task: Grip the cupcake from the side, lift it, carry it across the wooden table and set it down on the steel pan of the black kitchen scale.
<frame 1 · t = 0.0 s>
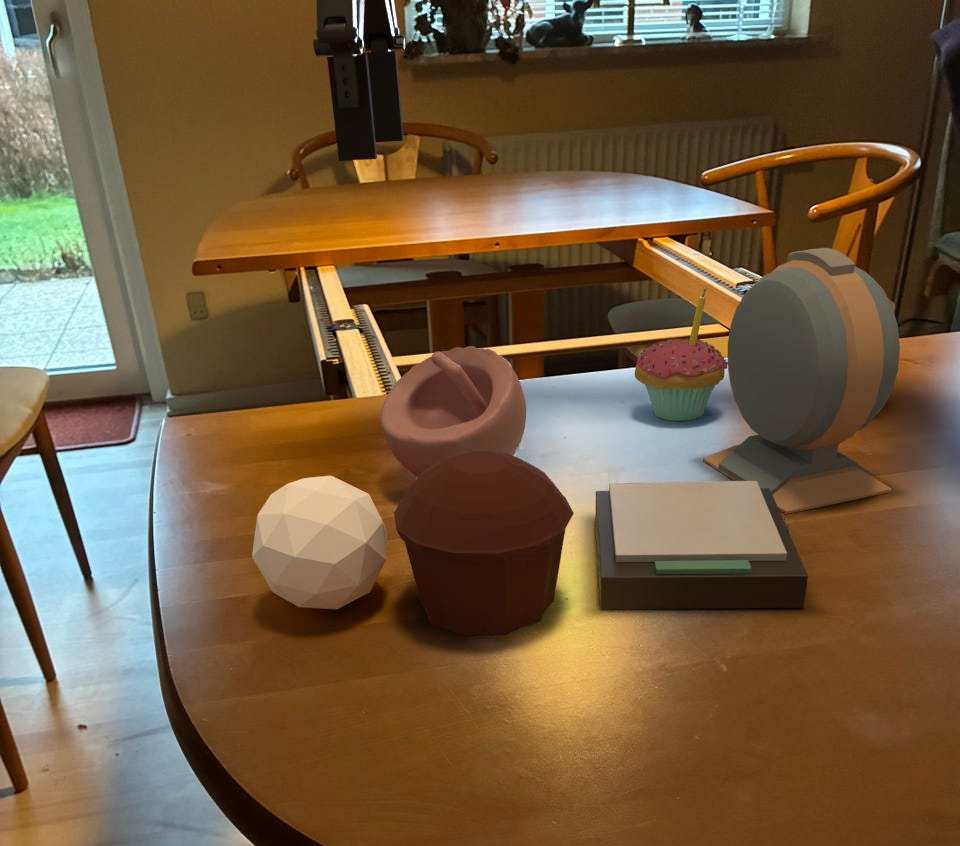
hand: (373, 150, 77), 25 cm above the table, tool pointing down, fingers open, 13 cm apart
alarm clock: (792, 477, 81), on the table
muffin: (487, 605, 66), on the table
planter: (819, 405, 96), on the table
white geodesic ball: (333, 591, 69), on the table
cupcake: (677, 415, 96), on the table
mortar and pestle: (458, 483, 84), on the table
scale: (689, 559, 70), on the table
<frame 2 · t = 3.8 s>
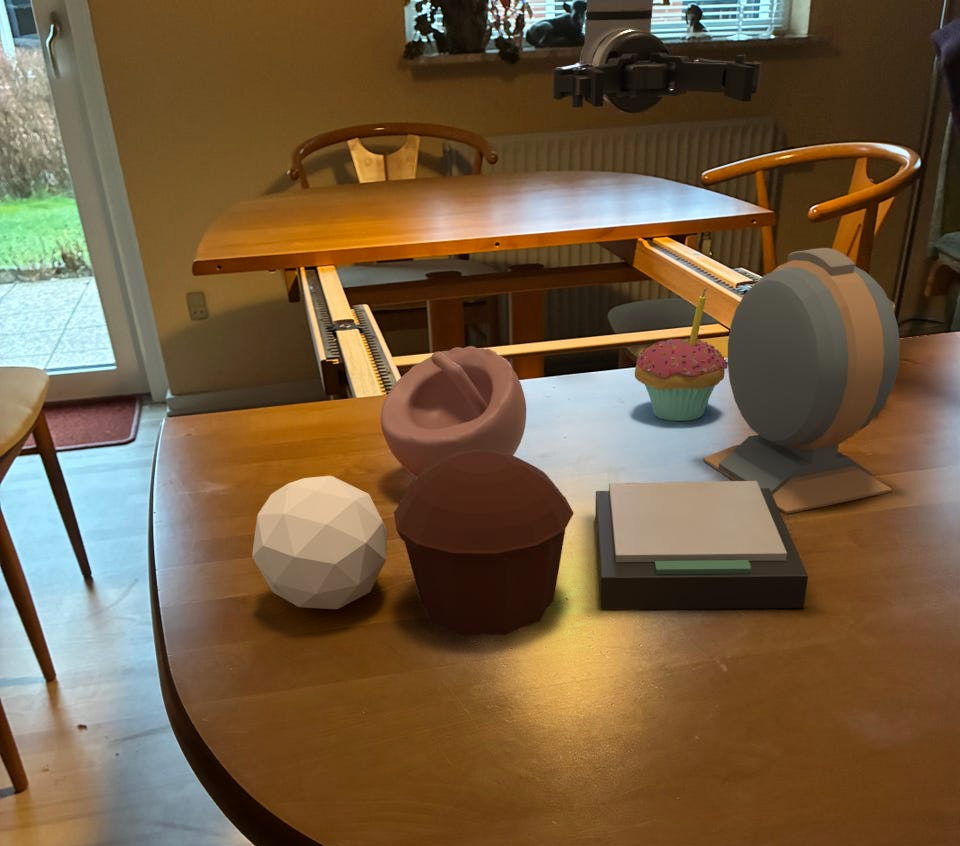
hand: (674, 87, 89), 28 cm above the table, tool horizontal, fingers open, 13 cm apart
nothing on the table moved.
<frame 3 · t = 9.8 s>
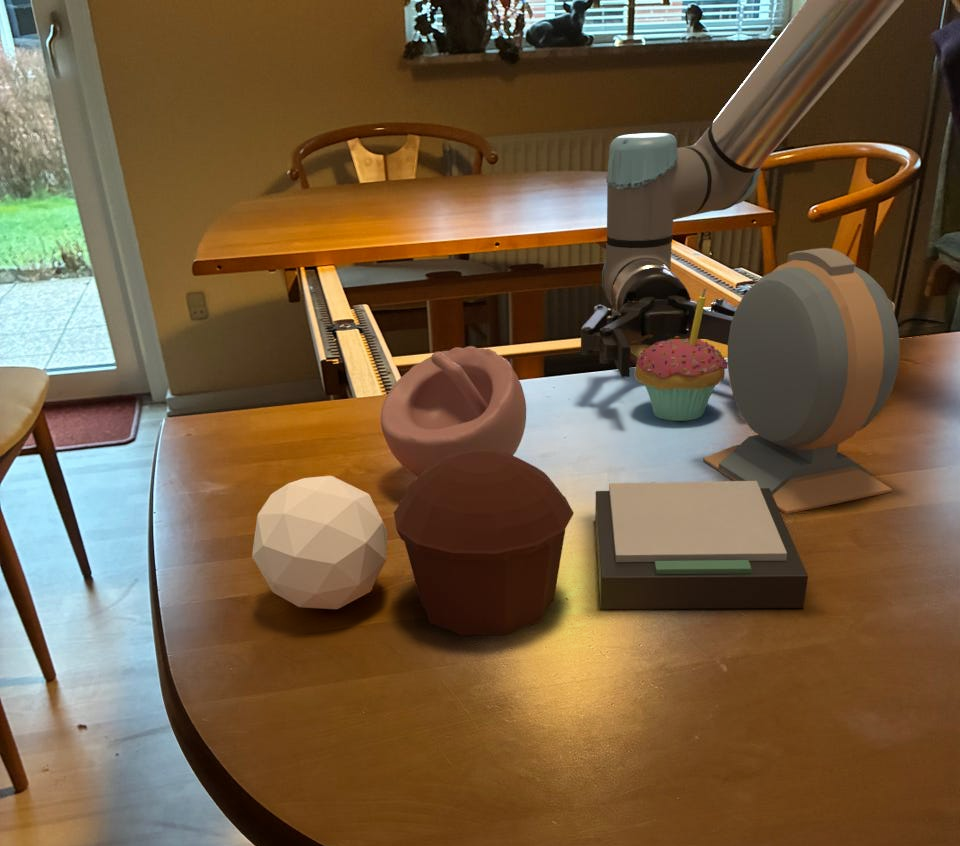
hand: (689, 359, 89), 6 cm above the table, tool horizontal, fingers open, 11 cm apart
nothing on the table moved.
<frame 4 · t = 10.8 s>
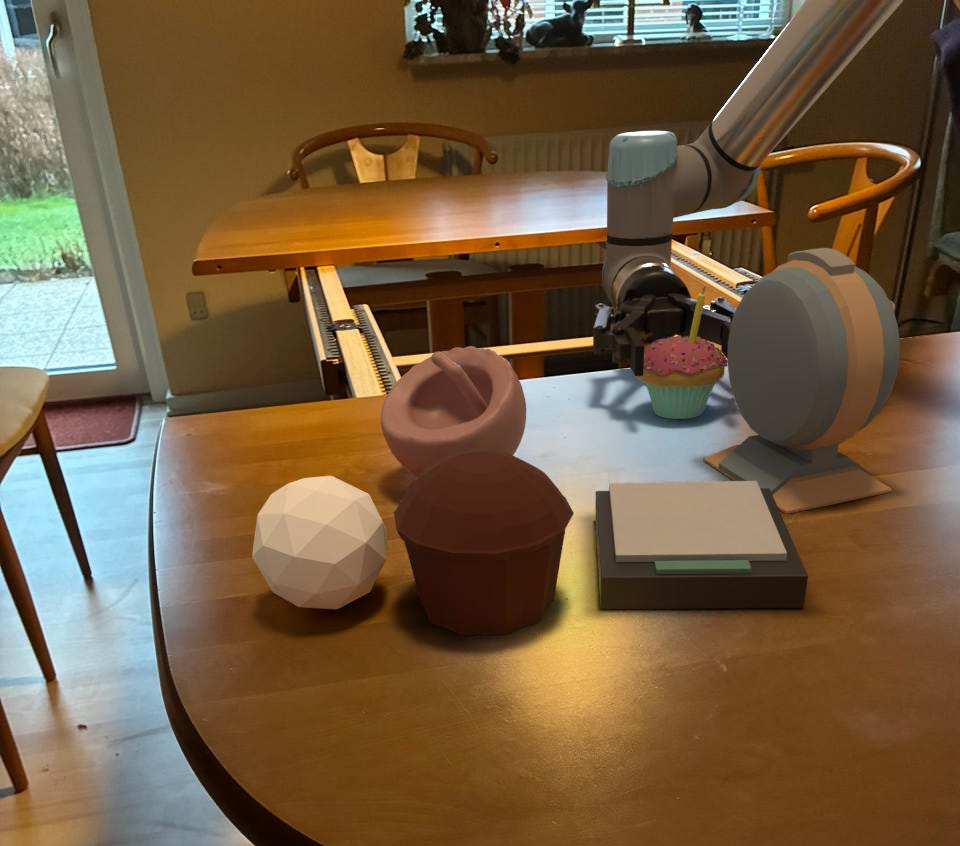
hand: (690, 358, 88), 7 cm above the table, tool horizontal, fingers closed on cupcake, 8 cm apart
cupcake: (677, 413, 96), on the table, touching gripper
everything else where it was.
when the fingers open (9 cm above the table, at t = 22.7 s): cupcake stays where it is, resting on scale.
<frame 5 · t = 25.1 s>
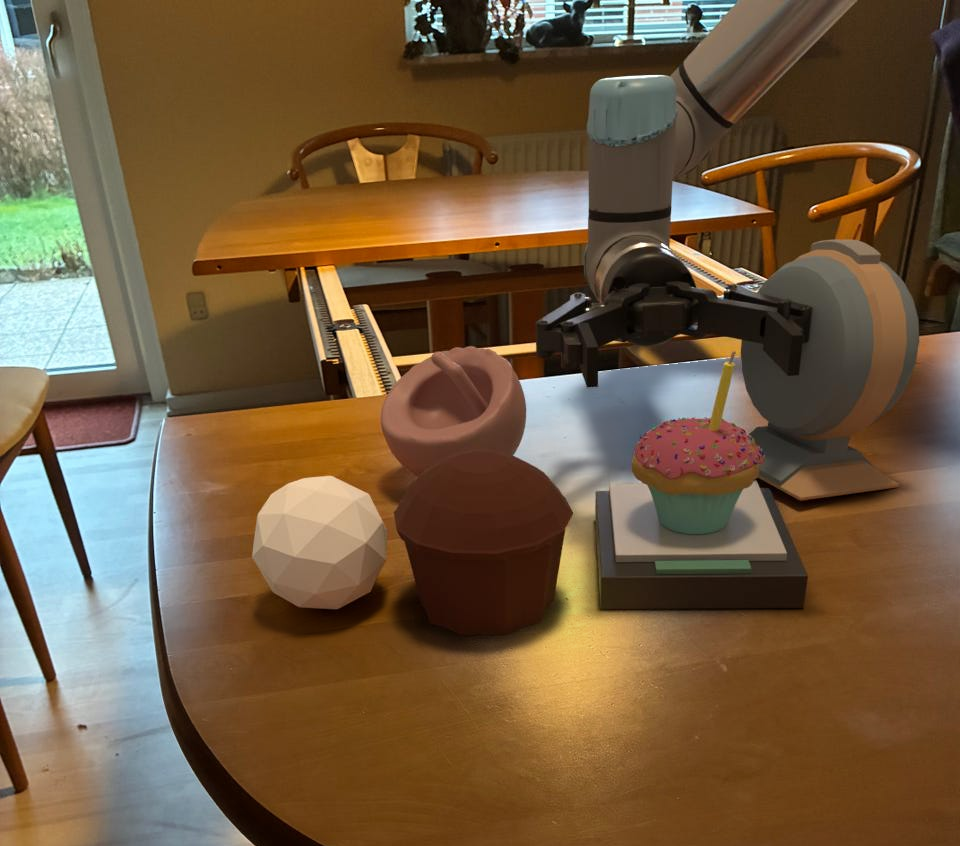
hand: (694, 361, 66), 13 cm above the table, tool horizontal, fingers open, 13 cm apart
cupcake: (691, 523, 68), point 3 cm above the table, touching scale
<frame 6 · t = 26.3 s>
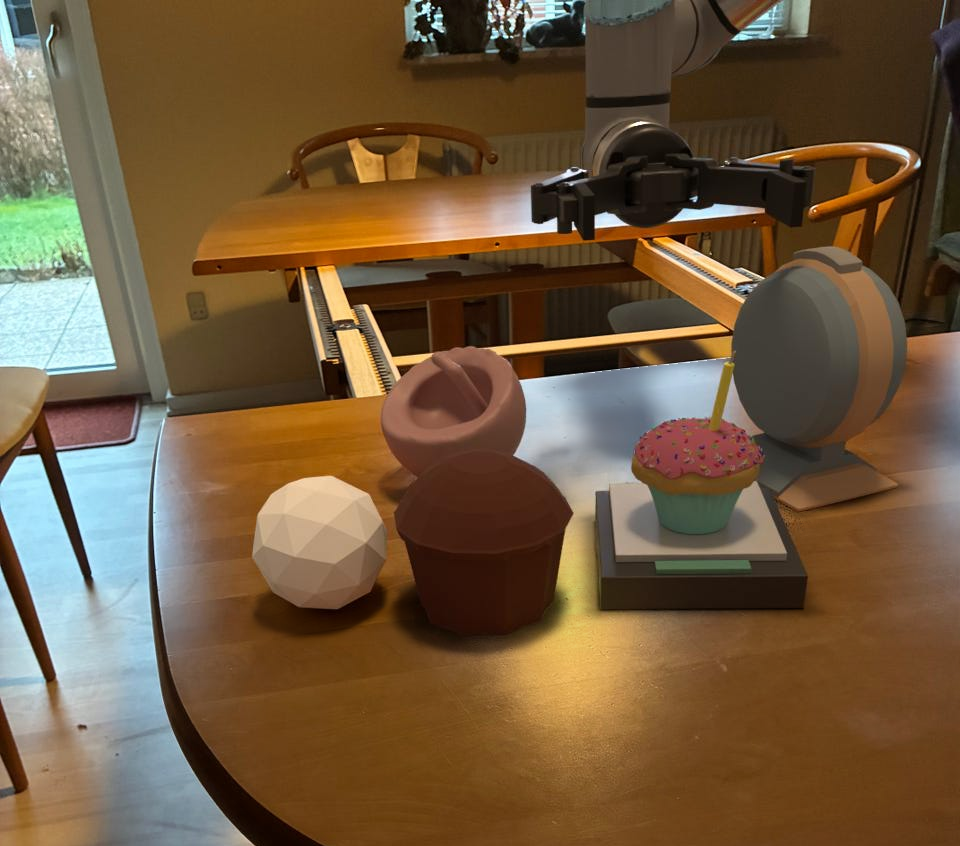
hand: (693, 211, 64), 22 cm above the table, tool horizontal, fingers open, 13 cm apart
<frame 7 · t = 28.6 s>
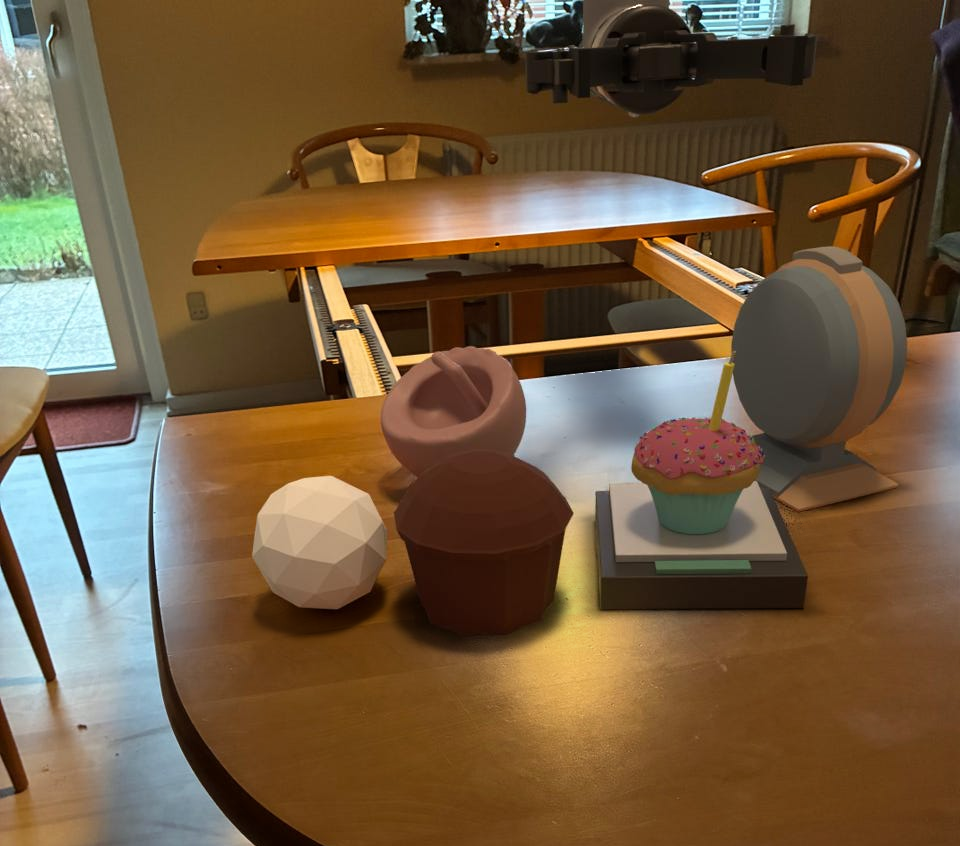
hand: (691, 67, 62), 30 cm above the table, tool horizontal, fingers open, 13 cm apart
nothing on the table moved.
at the end: cupcake inside the target area on the scale (1.0 cm from its centre), point 2.8 cm above the scale's base; cupcake tilted 0°; the gripper is holding nothing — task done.
